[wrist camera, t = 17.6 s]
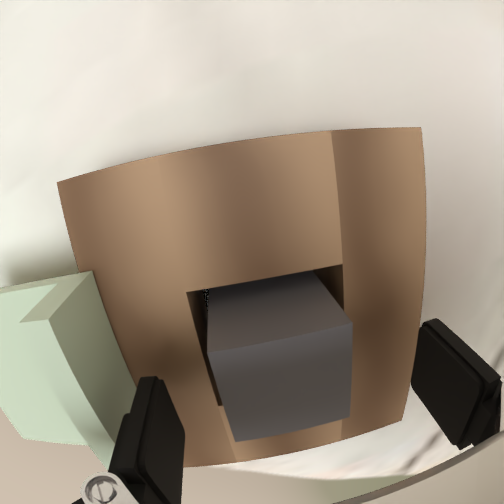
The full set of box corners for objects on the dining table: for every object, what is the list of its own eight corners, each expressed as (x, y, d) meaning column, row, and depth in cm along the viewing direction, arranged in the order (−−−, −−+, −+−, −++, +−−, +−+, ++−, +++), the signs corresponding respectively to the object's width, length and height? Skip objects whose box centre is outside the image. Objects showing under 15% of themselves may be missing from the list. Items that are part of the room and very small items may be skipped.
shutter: (91, 270, 11) (48, 319, 7) (159, 434, 14) (152, 494, 10) (-45, 296, 10) (-89, 331, 7) (27, 429, 13) (6, 473, 10)
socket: (367, 130, 15) (421, 127, 11) (371, 373, 20) (401, 420, 16) (101, 172, 15) (56, 182, 10) (174, 411, 20) (169, 468, 15)
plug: (294, 247, 17) (352, 322, 9) (302, 320, 18) (349, 416, 11) (209, 263, 17) (207, 352, 9) (226, 335, 18) (235, 442, 11)
